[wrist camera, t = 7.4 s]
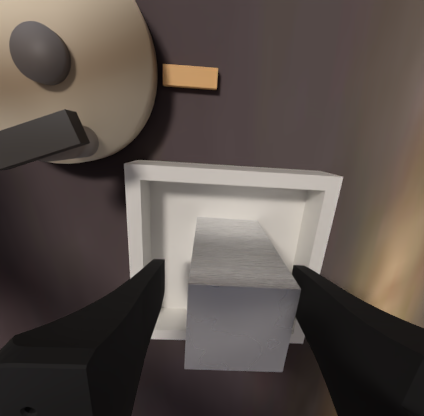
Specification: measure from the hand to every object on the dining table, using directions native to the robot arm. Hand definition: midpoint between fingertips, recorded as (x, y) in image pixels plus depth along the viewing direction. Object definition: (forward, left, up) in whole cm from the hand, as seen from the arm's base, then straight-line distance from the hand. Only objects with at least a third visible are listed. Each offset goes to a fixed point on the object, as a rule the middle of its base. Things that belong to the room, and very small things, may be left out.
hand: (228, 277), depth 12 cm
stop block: (0, 0, -3) cm, 3 cm away
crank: (+3, +14, -4) cm, 15 cm away
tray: (0, 0, -4) cm, 4 cm away
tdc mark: (+7, +8, -4) cm, 11 cm away
